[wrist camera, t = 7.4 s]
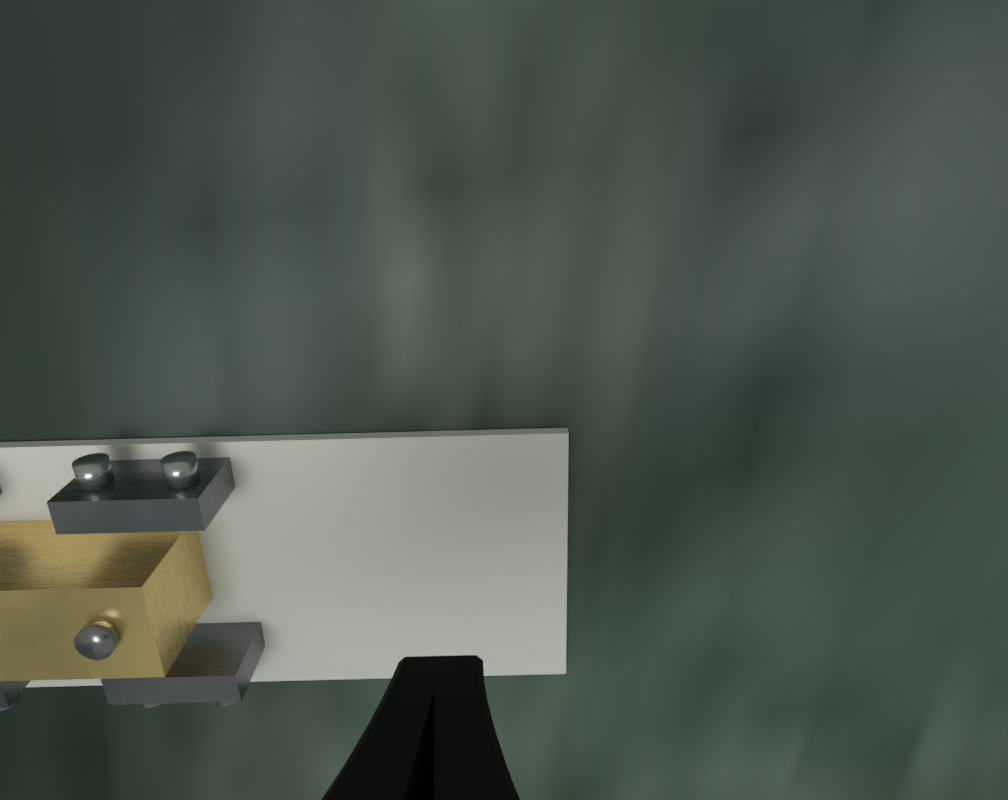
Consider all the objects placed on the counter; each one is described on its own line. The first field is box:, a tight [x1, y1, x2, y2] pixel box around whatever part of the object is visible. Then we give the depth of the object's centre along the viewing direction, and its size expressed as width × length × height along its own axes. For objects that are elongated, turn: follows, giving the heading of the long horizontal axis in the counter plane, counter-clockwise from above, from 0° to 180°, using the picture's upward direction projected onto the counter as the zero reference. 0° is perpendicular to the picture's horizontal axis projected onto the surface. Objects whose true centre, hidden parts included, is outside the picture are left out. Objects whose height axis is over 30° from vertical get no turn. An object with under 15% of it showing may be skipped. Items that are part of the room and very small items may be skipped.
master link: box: [0, 520, 212, 681], centre depth 20 cm, size 3×8×4 cm, turn 91°
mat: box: [0, 428, 569, 687], centre depth 23 cm, size 9×23×1 cm, turn 91°
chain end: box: [47, 451, 265, 708], centre depth 21 cm, size 8×4×2 cm, turn 1°
